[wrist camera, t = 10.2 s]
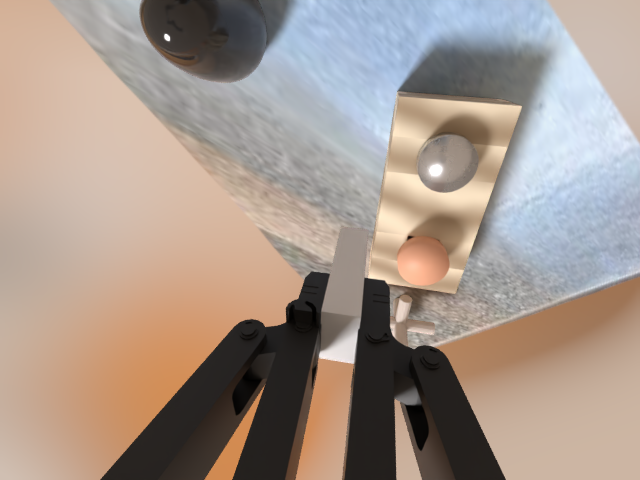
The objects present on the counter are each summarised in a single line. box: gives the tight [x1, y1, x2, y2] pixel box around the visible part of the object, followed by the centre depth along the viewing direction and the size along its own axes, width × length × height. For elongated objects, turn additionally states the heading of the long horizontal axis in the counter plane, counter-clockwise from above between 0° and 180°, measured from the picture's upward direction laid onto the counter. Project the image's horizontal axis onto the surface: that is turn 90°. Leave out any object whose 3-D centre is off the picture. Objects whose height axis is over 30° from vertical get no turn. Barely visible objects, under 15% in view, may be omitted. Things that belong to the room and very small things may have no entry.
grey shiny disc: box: [416, 132, 479, 193], centre depth 36 cm, size 6×6×8 cm
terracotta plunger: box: [397, 236, 450, 286], centre depth 41 cm, size 6×6×8 cm
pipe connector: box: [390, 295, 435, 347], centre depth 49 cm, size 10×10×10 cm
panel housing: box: [368, 91, 522, 294], centre depth 41 cm, size 24×12×6 cm, turn 177°
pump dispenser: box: [139, 0, 267, 83], centre depth 31 cm, size 10×10×15 cm
